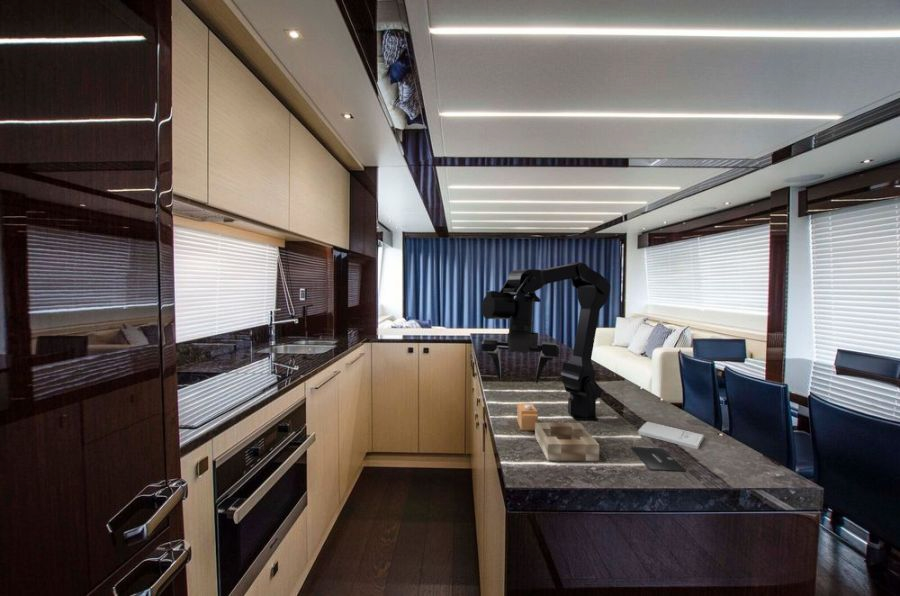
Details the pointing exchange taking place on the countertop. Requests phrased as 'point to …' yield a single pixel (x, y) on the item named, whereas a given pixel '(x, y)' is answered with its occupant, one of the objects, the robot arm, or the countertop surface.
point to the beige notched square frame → (566, 442)
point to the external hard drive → (671, 435)
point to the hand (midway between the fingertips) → (517, 381)
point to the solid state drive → (657, 459)
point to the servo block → (527, 416)
